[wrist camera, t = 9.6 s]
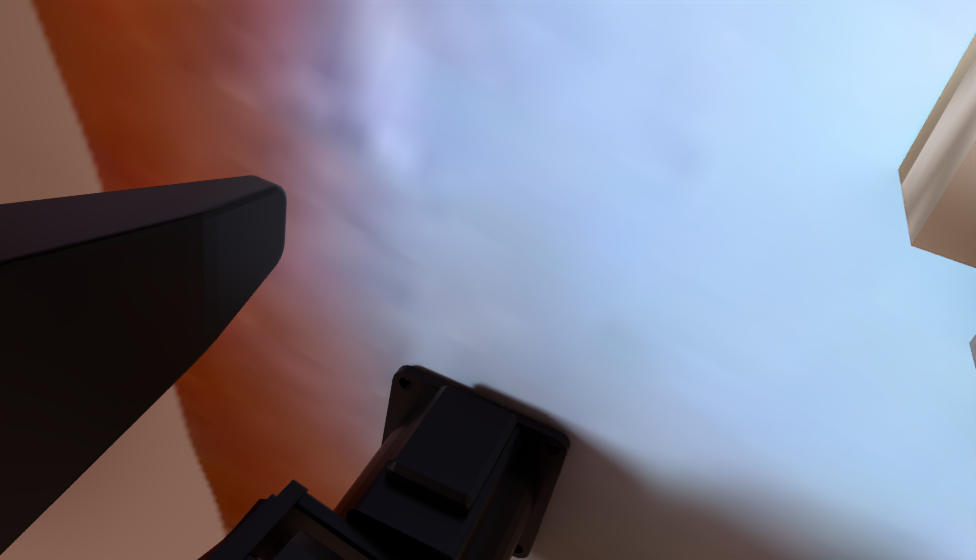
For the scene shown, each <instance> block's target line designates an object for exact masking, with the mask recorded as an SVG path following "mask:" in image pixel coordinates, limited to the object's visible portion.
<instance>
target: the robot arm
mask: <svg viewBox="0 0 976 560" xmlns="http://www.w3.org/2000/svg"><path fill="white" fill-rule="evenodd" d="M286 207H287V197H286V193H285V191H284V189H283V188H282V187H281V186H279V185H277V184H275V183H272V182H270V181H267V180H265V179H262V178H260V177H257V176H252V175H251V176H241V177H232V178H223V179H215V180H206V181H197V182H189V183H180V184H172V185H163V186H154V187H146V188H137V189H128V190H120V191H111V192H102V193H94V194H85V195H77V196H68V197H59V198H52V199H51V198H50V199H42V200H33V201H24V202H16V203H7V204H0V555H1V554H2V553H3V552H4V551H5V550H6V549H7V548H8V547H9V546H10V545H11V544H12V543H13V542H14V541H15V540H16V539H17V538H18V537H19V536H20V535H21V534H22V533H23V532H24V531H25V530H26V529H27V528H28V527H29V526H30V525H31V524H32V523H33V522H34V521H35V520H36V519H37V518H38V517H39V516H40V515H41V514H42V513H43V512H44V511H45V510H47V508H48V507H49V506H50V505H52V504H53V502H55V501H56V500H57V499H58V498H59V497H60V496H61V495H62V494H63V493H64V492H65V491H66V490H67V489H68V488H69V487H70V486H71V485H72V484H73V483H74V482H75V481H76V480H77V479H78V478H79V477H80V476H81V475H82V474H83V473H84V472H85V471H86V470H87V469H88V468H89V467H90V466H91V465H92V464H93V463H94V462H95V461H96V460H97V459H98V458H99V457H100V456H101V455H102V454H103V453H104V452H105V451H106V450H107V449H108V448H109V447H110V446H111V445H112V444H113V443H114V442H115V441H116V440H117V439H118V438H119V437H120V436H121V435H122V434H123V433H124V432H125V431H126V430H127V429H128V428H130V427H131V426H132V424H134V423H135V422H136V421H137V420H138V418H140V417H141V416H142V415H143V414H144V413H145V412H146V411H147V410H148V409H149V408H150V407H151V406H152V405H153V404H154V403H155V402H156V401H157V400H158V399H159V398H160V397H161V396H162V395H163V394H164V393H165V392H166V391H167V390H168V389H169V388H170V387H171V386H172V385H173V384H174V383H175V382H176V381H177V380H178V379H179V378H180V377H181V376H182V375H183V374H184V373H185V372H186V371H187V370H188V369H189V368H190V367H191V366H192V365H193V364H194V363H195V362H196V361H197V360H198V359H199V358H200V357H201V356H202V355H203V354H204V353H205V352H206V351H207V349H208V348H209V347H210V346H211V345H212V344H213V343H214V341H215V340H216V339H217V338H218V337H219V336H220V334H221V333H222V332H223V331H224V329H225V328H226V327H227V326H228V324H229V323H230V322H231V321H232V319H233V318H234V317H235V316H236V315H237V313H238V312H239V311H240V310H241V308H242V307H243V306H244V305H245V303H246V302H247V301H248V300H249V298H250V297H251V296H252V295H253V293H254V292H255V291H256V290H257V289H258V287H259V286H260V285H261V284H262V282H263V281H264V280H265V279H266V277H267V276H268V275H269V274H270V272H271V271H272V270H273V269H274V268H275V266H276V265H277V263H278V262H279V260H280V258H281V256H282V253H283V250H284V245H285V227H286ZM405 378H407V379H408V380H410V382H411V383H410V382H408V381H407V380H406V379H405ZM550 443H553V444H555V445H557V446H558V447H554V446H552V445H551V444H550ZM569 448H570V441H569V439H568V438H567V436H566V435H565V434H563V433H562V432H560V431H558V430H556V429H553V428H551V427H549V426H547V425H544V424H542V423H540V422H538V421H535V420H533V419H531V418H528V417H526V416H524V415H522V414H519V413H517V412H515V411H513V410H510V409H508V408H506V407H503V406H501V405H499V404H497V403H494V402H492V401H490V400H488V399H485V398H483V397H481V396H478V395H476V394H474V393H472V392H469V391H467V390H465V389H463V388H460V387H458V386H456V385H453V384H451V383H449V382H447V381H444V380H442V379H440V378H438V377H435V376H433V375H431V374H428V373H426V372H424V371H422V370H419V369H417V368H415V367H412V366H409V365H405V366H402V367H401V368H399V370H398V371H397V372H396V373H395V374H394V377H393V380H392V386H391V392H390V398H389V404H388V410H387V416H386V422H385V428H384V433H383V439H382V445H381V447H380V449H379V450H378V451H377V453H376V454H375V455H374V457H373V458H372V459H371V461H370V462H369V463H368V465H367V466H366V467H365V469H364V470H363V471H362V473H361V474H360V476H359V477H358V478H357V480H356V481H355V482H354V484H353V485H352V486H351V488H350V489H349V490H348V492H347V493H346V494H345V496H344V497H343V498H342V500H341V501H340V502H339V504H338V505H337V506H336V508H335V509H334V510H332V509H330V508H329V507H327V506H326V505H324V504H323V503H322V502H320V501H319V500H317V499H316V498H314V497H313V496H312V495H310V494H309V493H307V491H308V489H307V488H305V487H304V486H303V485H301V484H300V483H298V482H297V481H295V480H294V479H293V480H292V481H291V482H290V483H289V484H288V485H287V486H286V487H285V488H284V489H283V490H282V491H281V492H280V493H279V494H278V495H277V496H275V495H274V494H272V495H271V496H270V497H269V498H268V499H259V500H258V501H257V503H256V504H255V505H254V506H253V507H252V508H251V509H250V511H249V512H248V513H247V514H246V515H245V516H244V517H243V519H242V520H241V521H240V522H239V523H238V524H237V525H236V527H235V528H234V529H233V530H232V531H231V532H230V533H229V534H228V535H227V536H226V537H225V538H224V539H223V540H222V541H221V542H220V543H218V544H217V545H216V546H214V547H213V548H212V549H211V550H209V551H208V552H207V553H205V554H204V555H203V556H201V557H200V558H199V559H198V560H510V559H511V557H512V556H514V557H517V558H525V557H527V556H528V555H529V553H530V551H531V548H532V546H533V543H534V541H535V538H536V535H537V533H538V530H539V527H540V525H541V522H542V519H543V517H544V514H545V512H546V509H547V506H548V504H549V501H550V498H551V496H552V493H553V490H554V488H555V485H556V483H557V480H558V477H559V475H560V472H561V469H562V467H563V464H564V461H565V459H566V456H567V454H568V451H569Z"/></svg>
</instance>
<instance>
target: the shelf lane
mask: <svg viewBox="0 0 976 560" xmlns="http://www.w3.org/2000/svg"><path fill="white" fill-rule="evenodd" d="M898 171H899V177H900V183H901V189H902V195H903V201H904V207H905V213H906V219H907V224H908V230H909V236H910V242H911V246H914V247H917V248H920V249H923V250H925V251H928V252H931V253H934V254H937V255H940V256H943V257H945V258H948V259H951V260H954V261H957V262H960V263H963V264H966V265H968V266H971V267H974V268H976V34H975V36H974V38H973V39H972V41H971V43H970V45H969V46H968V48H967V50H966V52H965V53H964V55H963V57H962V59H961V60H960V62H959V64H958V66H957V67H956V69H955V71H954V73H953V75H952V76H951V78H950V80H949V82H948V83H947V85H946V87H945V89H944V90H943V92H942V94H941V96H940V97H939V99H938V101H937V103H936V104H935V106H934V108H933V110H932V111H931V113H930V115H929V117H928V118H927V120H926V122H925V124H924V125H923V127H922V129H921V131H920V132H919V134H918V136H917V138H916V140H915V141H914V143H913V145H912V147H911V148H910V150H909V152H908V154H907V155H906V157H905V159H904V161H903V162H902V164H901V166H900V168H899V169H898Z"/></svg>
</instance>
